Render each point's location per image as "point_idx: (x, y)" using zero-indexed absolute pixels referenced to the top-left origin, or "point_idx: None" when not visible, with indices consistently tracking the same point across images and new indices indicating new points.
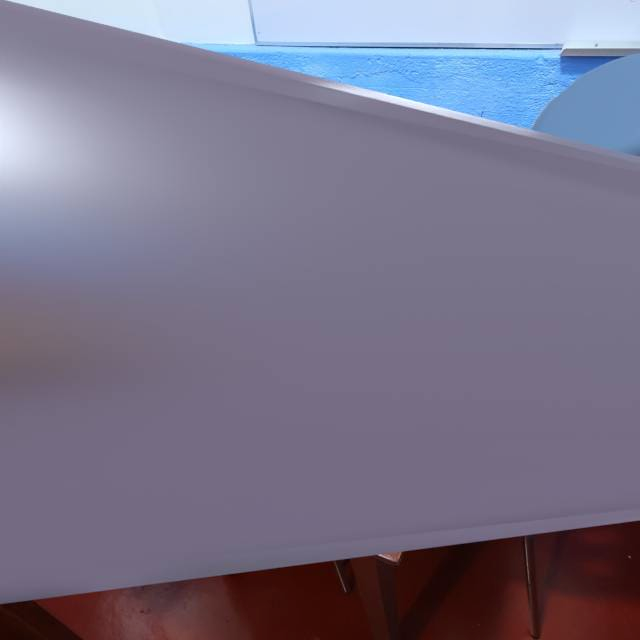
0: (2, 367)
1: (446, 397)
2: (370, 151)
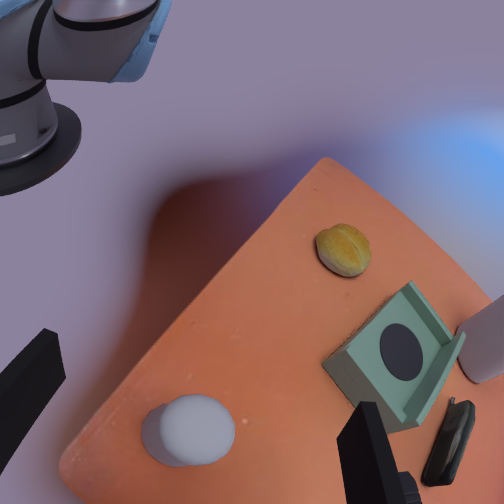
0: None
1: None
2: None
